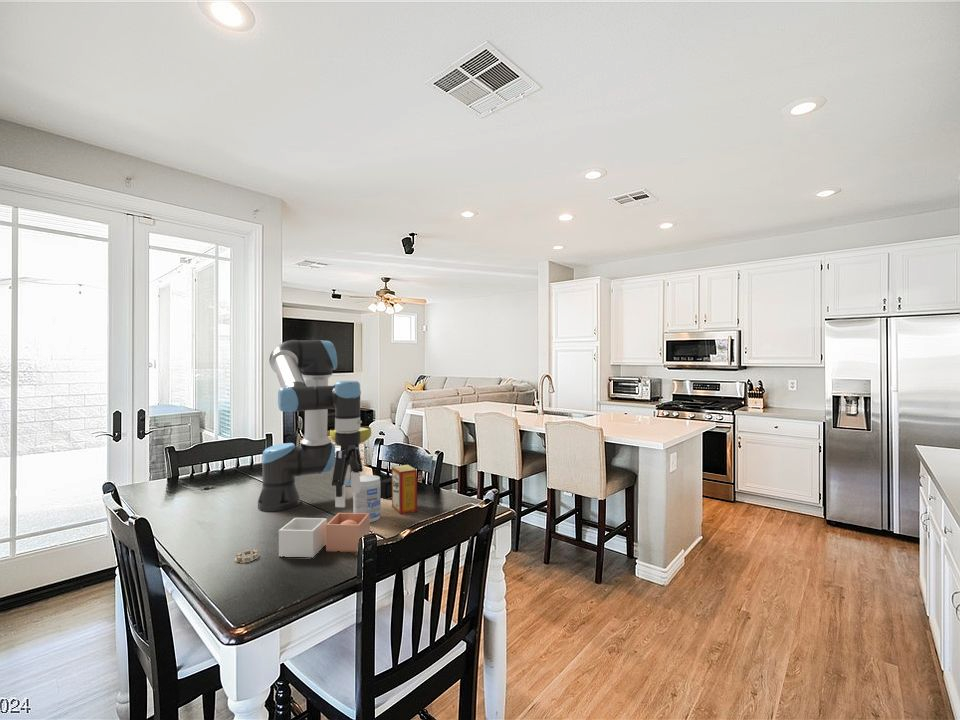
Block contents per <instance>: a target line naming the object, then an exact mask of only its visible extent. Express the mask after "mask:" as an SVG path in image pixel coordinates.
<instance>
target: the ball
mask: <svg viewBox="0 0 960 720" xmlns="http://www.w3.org/2000/svg"><path fill="white" fill-rule="evenodd" d="M341 524H355V525H358V523H357V522H355V521H353V520H346V521H343V522H342V523H341Z"/></svg>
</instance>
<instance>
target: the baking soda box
mask: <svg viewBox="0 0 960 720" xmlns="http://www.w3.org/2000/svg"><path fill="white" fill-rule="evenodd" d="M391 478H392V498H391V508H393V509H394V510H395V511H396V512H397V511H398V512H399V513H400V515H404V514H403V513H406V514H408V513H407V512H411V513H413V512H412V511H416V510H417V511H418V470H417V469H416V468H415V467H412V466H411V465H409V464H402V465H401V464H400V465H395V466H391ZM398 512H397V513H398ZM399 513H398V514H399Z"/></svg>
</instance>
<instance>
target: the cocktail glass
mask: <svg viewBox="0 0 960 720" xmlns="http://www.w3.org/2000/svg"><path fill="white" fill-rule="evenodd" d="M358 431H360V443H359V445H361V444H362V443H364V442H366V441H367V440H368V439H370V438H371V435H372V428H371V427H370V426H367V425H360V430H358ZM336 432H337V431H336V430H335V427H333V428H330V430H329V438H330V439H331V441H334V442H335V433H336ZM349 467H350V466H349ZM349 469H350V470H349V479H345V481H344V485H345V486H347V487H346V488H349V487H350V486H351V472H352V469H351V467H350V468H349ZM350 488H351V487H350Z"/></svg>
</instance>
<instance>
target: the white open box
mask: <svg viewBox="0 0 960 720" xmlns="http://www.w3.org/2000/svg"><path fill="white" fill-rule="evenodd" d="M327 523H328V518H327V517H326V518H323V517H321V518H320V517H293V519H292V520H290V521H289V522H288V523H286V524H285V525H284V526H283V527H281V528H280V529H278V557H279V556H281V557H282V556H285V557H312V558H313V557H314V556H315V555H316V554H317V553H318V554H319V553H320V552H321V551H322V550H323V549H324V548H323V547H324V546H325V545H326V524H327ZM325 547H326V546H325ZM322 548H323V549H322ZM321 549H322V550H321ZM320 550H321V551H320ZM319 551H320V552H319ZM318 554H317V555H318ZM317 555H316V556H317ZM316 556H315V557H316ZM315 557H314V558H315ZM314 558H313V559H314Z"/></svg>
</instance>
